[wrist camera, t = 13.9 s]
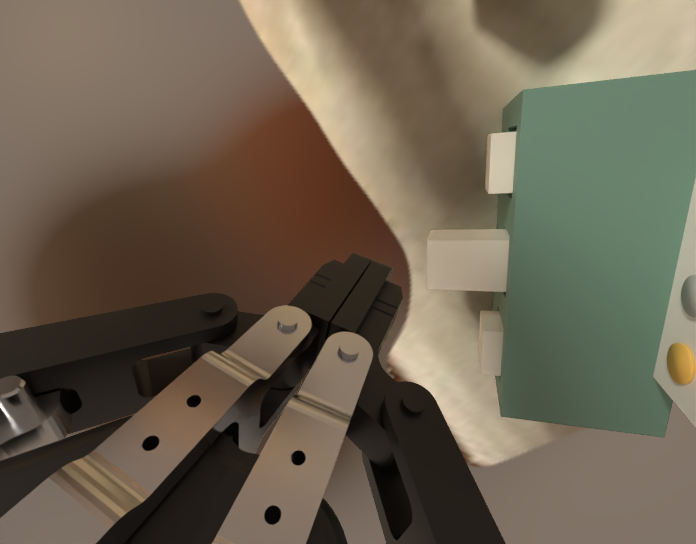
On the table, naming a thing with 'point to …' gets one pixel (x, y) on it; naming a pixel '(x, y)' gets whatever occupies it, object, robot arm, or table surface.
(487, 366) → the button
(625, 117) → the console
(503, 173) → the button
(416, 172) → the table surface
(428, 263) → the button mid
